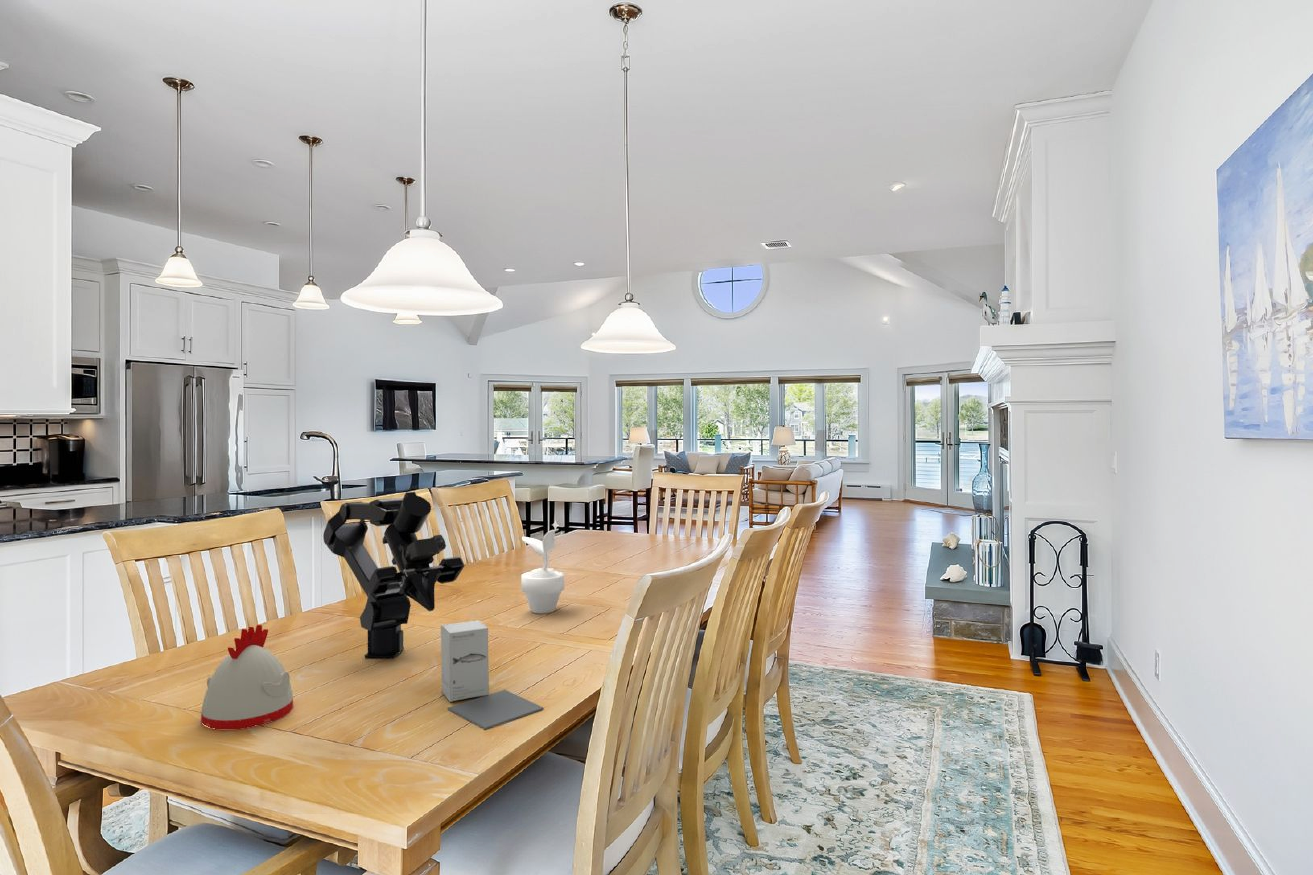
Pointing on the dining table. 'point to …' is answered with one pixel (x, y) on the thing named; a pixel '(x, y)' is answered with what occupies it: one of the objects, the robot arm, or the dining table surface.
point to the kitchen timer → (247, 686)
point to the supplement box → (464, 660)
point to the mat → (495, 709)
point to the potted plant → (543, 577)
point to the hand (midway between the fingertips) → (432, 609)
